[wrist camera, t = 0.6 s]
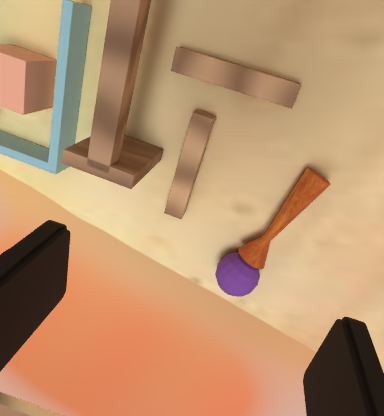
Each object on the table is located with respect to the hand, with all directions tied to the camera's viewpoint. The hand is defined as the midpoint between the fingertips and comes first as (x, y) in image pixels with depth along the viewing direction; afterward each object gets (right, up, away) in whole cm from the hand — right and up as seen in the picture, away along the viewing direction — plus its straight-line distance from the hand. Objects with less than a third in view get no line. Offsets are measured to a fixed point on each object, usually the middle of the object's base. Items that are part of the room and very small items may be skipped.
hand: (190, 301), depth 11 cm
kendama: (+11, +1, +34) cm, 36 cm away
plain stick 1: (0, +9, +32) cm, 34 cm away
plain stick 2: (+5, +18, +27) cm, 33 cm away
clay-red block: (-21, +20, +32) cm, 43 cm away
